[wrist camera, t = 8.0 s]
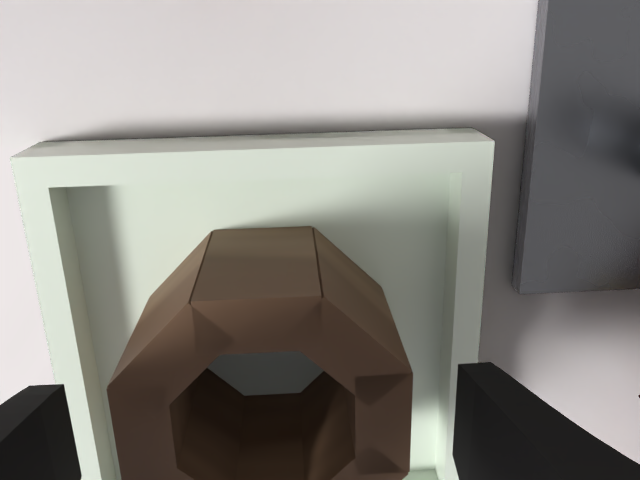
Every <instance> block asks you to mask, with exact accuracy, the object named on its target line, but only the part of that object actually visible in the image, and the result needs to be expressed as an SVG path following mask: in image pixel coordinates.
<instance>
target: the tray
mask: <svg viewBox="0 0 640 480" xmlns="http://www.w3.org/2000/svg"><path fill="white" fill-rule="evenodd" d="M494 146H495V141H494V140H492V139H491V138H489V137H487V136H486V135H484V134H482V133H481V132H479V131H477V130H475V129H474V128H447V129H418V130H388V131H358V132H328V133H298V134H268V135H238V136H208V137H179V138H149V139H119V140H89V141H59V142H39V143H37V144H35V145H33V146H31V147H29V148H28V149H26V150H24V151H22V152H20V153H18V154H16V155H14V156H12V157H10V161H11V166H12V171H13V176H14V181H15V186H16V191H17V196H18V201H19V206H20V211H21V216H22V221H23V226H24V231H25V236H26V241H27V246H28V250H29V255H30V260H31V265H32V270H33V275H34V280H35V285H36V290H37V295H38V300H39V305H40V310H41V315H42V320H43V325H44V330H45V335H46V340H47V345H48V350H49V355H50V360H51V364H52V369H53V374H54V379H55V384H64V387H65V392H66V398H67V403H68V408H69V413H70V418H71V423H72V428H73V433H74V438H75V443H76V448H77V454H78V459H79V464H80V469H81V474H82V477H81V480H121V474H120V468H119V462H118V456H117V450H116V444H115V438H114V432H113V426H112V420H111V414H110V408H109V402H108V396H107V390H106V389H107V386H108V384H109V382H110V379H111V377H112V375H113V373H114V371H115V369H116V367H117V365H118V363H119V360H120V358H121V356H122V354H123V352H124V350H125V348H126V346H127V343H128V341H129V339H130V337H131V335H132V333H133V331H134V329H135V327H136V324H137V322H138V320H139V318H140V316H141V314H142V312H143V310H144V308H145V305H146V303H147V301H148V299H149V297H150V296H151V295H152V294H153V293H154V291H155V290H156V289H157V288H158V287H159V286H160V285H161V284H162V283H163V282H164V281H165V280H166V279H167V278H168V277H169V276H170V274H171V273H172V272H173V271H174V270H175V269H176V268H177V267H178V266H179V265H180V264H181V263H182V262H183V261H184V260H185V258H186V257H187V256H188V255H189V254H190V253H191V252H192V251H193V250H194V249H195V248H196V247H197V246H198V245H199V244H200V243H201V241H202V240H203V239H204V238H205V237H206V236H207V235H208V234H209V233H210V232H211V231H213V230H221V229H247V228H272V227H298V226H312V228H313V227H315V228H316V229H317V230H318V231H319V232H320V233H322V234H323V235H324V236H325V237H326V238H327V239H328V240H329V241H331V242H332V243H333V244H334V245H335V246H336V247H337V248H338V249H340V250H341V251H342V252H343V253H344V254H345V255H346V256H348V257H349V258H350V259H351V260H352V261H353V262H354V263H355V264H357V265H358V266H359V267H360V268H361V269H362V270H363V271H364V272H366V273H367V274H368V275H369V276H370V277H371V278H372V279H373V280H375V281H376V282H377V283H378V284H379V285H380V286H381V287H382V289H383V292H384V295H385V297H386V300H387V303H388V306H389V308H390V311H391V314H392V317H393V319H394V322H395V325H396V328H397V330H398V333H399V336H400V339H401V341H402V344H403V347H404V350H405V352H406V355H407V358H408V361H409V363H410V366H411V369H412V372H413V394H412V421H411V449H410V472H408V475H407V476H406V477H405V478H403V479H402V480H459V478H458V474H457V470H456V466H455V463H454V459H453V455H452V451H453V435H454V420H455V404H456V388H457V372H458V364H465V363H478V355H479V342H480V329H481V316H482V303H483V290H484V277H485V264H486V250H487V237H488V224H489V211H490V198H491V185H492V172H493V159H494ZM207 368H208V369H209V370H211V371H212V372H213V373H215V374H216V375H217V376H219V377H220V378H222V379H223V380H224V381H226V382H227V383H228V384H230V385H231V386H232V387H234V388H235V389H236V390H238V391H239V392H240V393H242V394H243V395H244V396H248V395H267V394H287V393H301V392H302V391H303V390H304V389H305V388H306V387H307V386H308V385H309V384H310V383H311V382H312V381H313V380H314V379H315V378H317V377H318V376H319V375H320V374H321V373H322V372H323V371H324V370H323V369H321V368H320V367H319V366H318V365H316V364H315V363H314V362H313V361H311V360H310V359H309V358H308V357H306V356H305V355H304V354H303V353H301V352H300V351H288V352H268V353H247V354H226V355H219V356H218V357H217V358H216V359H215V360H214V361H213V362H212V363H211V364H210V365H209V366H208V367H207Z"/></svg>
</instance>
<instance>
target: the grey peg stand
mask: <svg viewBox="0 0 640 480" xmlns="http://www.w3.org/2000/svg"><path fill="white" fill-rule="evenodd" d="M512 286H513V287H514V288H515V289H516V291H517V292H518V293H519V294H533V293H555V292H576V291H598V290H620V289H640V0H539V1H538V11H537V22H536V33H535V43H534V54H533V65H532V75H531V86H530V97H529V107H528V118H527V129H526V139H525V150H524V161H523V171H522V182H521V193H520V203H519V214H518V225H517V236H516V246H515V257H514V268H513V278H512Z"/></svg>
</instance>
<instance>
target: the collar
mask: <svg viewBox="0 0 640 480" xmlns="http://www.w3.org/2000/svg"><path fill="white" fill-rule="evenodd" d="M288 351H300V352H301V353H303V354H304V355H305V356H306V357H308V358H309V359H310V360H311V361H313V362H314V363H315V364H316V365H318V366H319V367H320V368H321V369H323V370H324V371H323V372H322V373H321V374H320V375H319V376H318V377H317V378H315V379H314V380H313V381H312V382H311V383H310V384H309V385H308V386H307V387H306V388H305V389H304V390H303V391H302V392H301V393H287V394H267V395H248V396H244V395H243V394H242V393H240V392H239V391H238V390H236V389H235V388H234V387H232V386H231V385H230V384H228V383H227V382H226V381H224V380H223V379H222V378H220V377H219V376H217V375H216V374H215V373H213V372H212V371H211V370H209V369H208V368H207V367H208V366H209V365H210V364H211V363H212V362H213V361H214V360H215V359H216V358H217V357H218V356H219V355H226V354H247V353H268V352H288ZM106 390H107V396H108V402H109V408H110V414H111V420H112V426H113V432H114V438H115V444H116V450H117V456H118V462H119V468H120V474H121V480H402V479H403V478H405V477H406V476H407V475H408V472H410V449H411V421H412V394H413V372H412V369H411V366H410V363H409V361H408V358H407V355H406V352H405V350H404V347H403V344H402V341H401V339H400V336H399V333H398V330H397V328H396V325H395V322H394V319H393V317H392V314H391V311H390V308H389V306H388V303H387V300H386V297H385V295H384V292H383V289H382V287H381V286H380V285H379V284H378V283H377V282H376V281H375V280H373V279H372V278H371V277H370V276H369V275H368V274H367V273H366V272H364V271H363V270H362V269H361V268H360V267H359V266H358V265H357V264H355V263H354V262H353V261H352V260H351V259H350V258H349V257H348V256H346V255H345V254H344V253H343V252H342V251H341V250H340V249H338V248H337V247H336V246H335V245H334V244H333V243H332V242H331V241H329V240H328V239H327V238H326V237H325V236H324V235H323V234H322V233H320V232H319V231H318V230H317V229H316V228H315V227H313V228H312V226H298V227H272V228H247V229H221V230H213V231H211V232H210V233H209V234H208V235H207V236H206V237H205V238H204V239H203V240H202V241H201V243H200V244H199V245H198V246H197V247H196V248H195V249H194V250H193V251H192V252H191V253H190V254H189V255H188V256H187V257H186V258H185V260H184V261H183V262H182V263H181V264H180V265H179V266H178V267H177V268H176V269H175V270H174V271H173V272H172V273H171V274H170V276H169V277H168V278H167V279H166V280H165V281H164V282H163V283H162V284H161V285H160V286H159V287H158V288H157V289H156V290H155V291H154V293H153V294H152V295H151V296H150V297H149V299H148V301H147V303H146V305H145V308H144V310H143V312H142V314H141V316H140V318H139V320H138V322H137V324H136V327H135V329H134V331H133V333H132V335H131V337H130V339H129V341H128V343H127V346H126V348H125V350H124V352H123V354H122V356H121V358H120V360H119V363H118V365H117V367H116V369H115V371H114V373H113V375H112V377H111V379H110V382H109V384H108V386H107V389H106Z"/></svg>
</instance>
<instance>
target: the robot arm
mask: <svg viewBox="0 0 640 480" xmlns="http://www.w3.org/2000/svg"><path fill="white" fill-rule="evenodd" d="M452 455H453V459H454V463H455V466H456V470H457V474H458V478H459V480H640V464H638V463H636V462H635V461H633V460H631V459H629V458H628V457H626V456H624V455H623V454H621V453H620V452H618V451H617V450H615V449H613V448H612V447H610V446H609V445H607V444H606V443H604V442H602V441H601V440H599V439H598V438H596V437H594V436H593V435H591V434H590V433H589V432H587V431H586V430H584V429H583V428H581V427H580V426H578V425H577V424H575V423H574V422H572V421H571V420H569V419H568V418H567V417H565V416H564V415H562V414H561V413H560V412H558V411H557V410H555V409H554V408H553V407H551V406H550V405H548V404H547V403H546V402H544V401H543V400H542V399H540V398H539V397H538V396H536V395H535V394H534V393H532V392H531V391H530V390H528V389H527V388H526V387H524V386H523V385H522V384H520V383H519V382H518V381H516V380H515V379H513V378H512V377H511V376H509V375H508V374H507V373H505V372H504V371H503V370H501V369H500V368H498V367H497V366H495V365H494V364H492V363H491V362H485V363H465V364H458V372H457V388H456V404H455V420H454V435H453V451H452ZM81 477H82V474H81V469H80V464H79V459H78V454H77V448H76V443H75V438H74V433H73V428H72V423H71V418H70V413H69V408H68V403H67V398H66V392H65V387H64V384H56V385H36V386H29V387H27V388H25V389H24V390H22V391H20V392H19V393H17V394H16V395H14V396H13V397H11V398H10V399H8V400H7V401H5V402H4V403H3V404H1V405H0V480H81Z"/></svg>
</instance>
